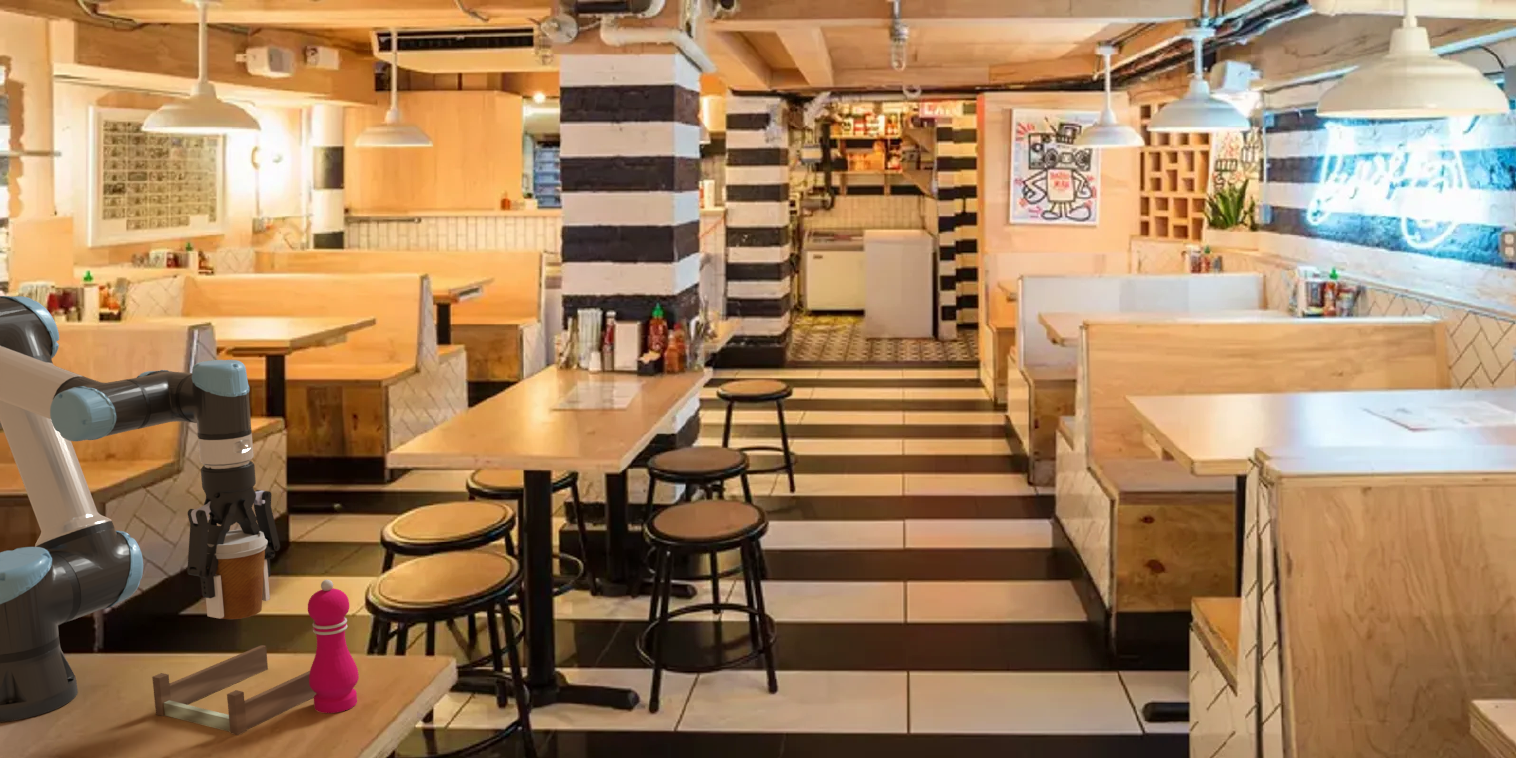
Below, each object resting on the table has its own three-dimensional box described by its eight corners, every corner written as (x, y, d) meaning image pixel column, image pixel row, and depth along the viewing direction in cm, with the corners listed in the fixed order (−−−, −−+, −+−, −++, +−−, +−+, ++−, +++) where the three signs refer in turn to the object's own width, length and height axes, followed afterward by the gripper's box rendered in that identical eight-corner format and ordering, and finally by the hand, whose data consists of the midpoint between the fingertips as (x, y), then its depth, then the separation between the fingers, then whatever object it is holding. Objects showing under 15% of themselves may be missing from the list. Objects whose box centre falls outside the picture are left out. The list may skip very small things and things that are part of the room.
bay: (155, 714, 191) (152, 676, 190) (262, 667, 209) (259, 633, 208) (238, 735, 183) (234, 695, 182) (341, 684, 201) (338, 648, 200)
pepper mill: (337, 692, 198) (328, 570, 195) (370, 701, 195) (362, 576, 192) (300, 709, 192) (290, 583, 189) (334, 718, 189) (324, 590, 185)
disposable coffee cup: (249, 624, 188) (243, 547, 186) (192, 621, 190) (185, 544, 188) (285, 604, 197) (279, 529, 195) (230, 600, 199) (224, 527, 197)
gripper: (186, 480, 179) (199, 633, 183) (298, 451, 198) (308, 590, 201) (150, 475, 182) (163, 625, 186) (264, 447, 201) (274, 584, 204)
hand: (239, 607), depth 193 cm, fingers closed on disposable coffee cup, 8 cm apart
